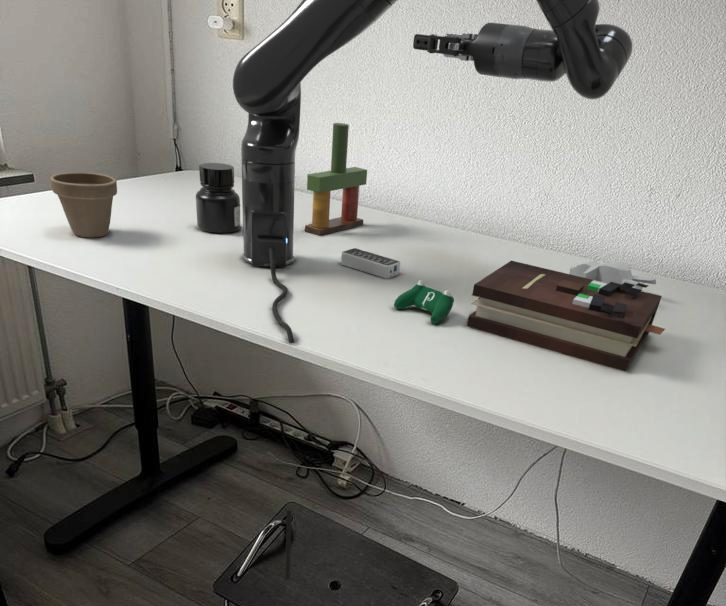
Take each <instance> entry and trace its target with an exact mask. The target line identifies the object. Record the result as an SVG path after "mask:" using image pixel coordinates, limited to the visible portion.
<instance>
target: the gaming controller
mask: <svg viewBox="0 0 726 606" xmlns="http://www.w3.org/2000/svg"><path fill="white" fill-rule="evenodd" d="M454 302H455V298H454V296H453V295H452V293H451V292H450V291H449V290H448V289H445V290H444V292H443V291H440V290H438V289H434V288H432V287H429V286H427V285H426V284H425V283H424V282H423V281H422V280H421V279H420V280H418V281H417V283H416V284H415V285H413V287H412V288H410V289H408V290H407V291H404V292H402V293H401V294H400V295H398V296H397V298H396V299H395V301H394V302H393V307H394V308H395V309H396V310H404V309H408V308H410V307H413V306H414V307H416V309H419V310H424V311H427V312H429V313H430V314H431V316H430V323H432V324H433V325H436V324H438V323H439V322H441V321H442V320H444V319H445V318H446V317H447V316H448V315H449V313H451V310H452V309H453V306H454Z"/></svg>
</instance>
